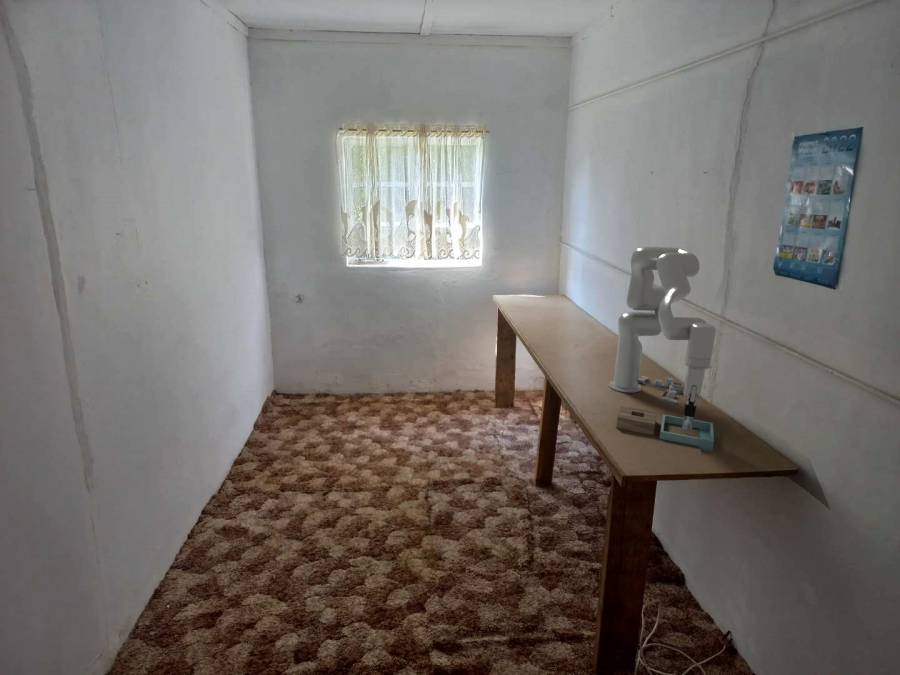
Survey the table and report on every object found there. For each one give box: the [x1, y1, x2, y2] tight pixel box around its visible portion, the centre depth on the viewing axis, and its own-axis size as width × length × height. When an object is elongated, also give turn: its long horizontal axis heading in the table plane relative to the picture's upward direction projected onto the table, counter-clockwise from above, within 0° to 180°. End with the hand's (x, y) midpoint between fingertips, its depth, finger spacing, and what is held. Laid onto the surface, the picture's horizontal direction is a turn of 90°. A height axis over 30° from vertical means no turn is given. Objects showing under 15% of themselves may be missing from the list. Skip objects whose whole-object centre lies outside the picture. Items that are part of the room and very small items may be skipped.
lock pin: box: [681, 396, 698, 431], centre depth 192 cm, size 3×3×11 cm
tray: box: [659, 414, 715, 452], centre depth 194 cm, size 16×16×4 cm
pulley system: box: [638, 375, 684, 405], centre depth 236 cm, size 27×5×15 cm
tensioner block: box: [615, 404, 658, 436], centre depth 199 cm, size 12×12×5 cm
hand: (689, 413), depth 192 cm, fingers closed on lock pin, 2 cm apart
